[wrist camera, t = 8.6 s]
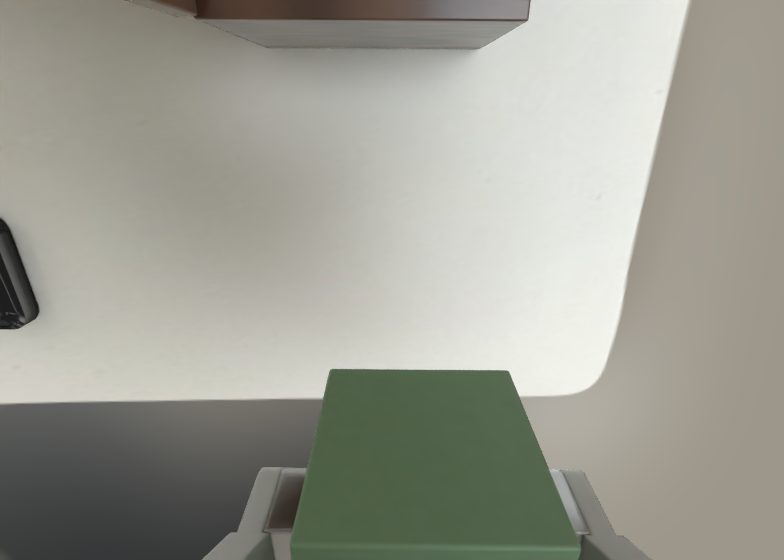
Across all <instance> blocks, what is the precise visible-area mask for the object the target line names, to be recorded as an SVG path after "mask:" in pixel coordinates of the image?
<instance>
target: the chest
mask: <svg viewBox="0 0 784 560" xmlns="http://www.w3.org/2000/svg"><path fill="white" fill-rule="evenodd" d="M530 1H531V0H195V3H196V9H197V16H194V18H195V19H197V20H199V21H202V22H204V23H207V24H209V25H212V26H214V27H217V28H219V29H222V30H224V31H227V32H229V33H232V34H234V35H237V36H239V37H242V38H244V39H247V40H249V41H252V42H254V43H257V44H259V45H262V46H265V47H267V48H387V49H480V48H482V47H484V46H486V45H487V44H489V43H491V42H492V41H494V40H496V39H497V38H499V37H501V36H503V35H504V34H506V33H508V32H509V31H511V30H513V29H514V28H516V27H518V26H520V25H521V24H523V23H525V22H526V21H528V18H529V9H530Z"/></svg>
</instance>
